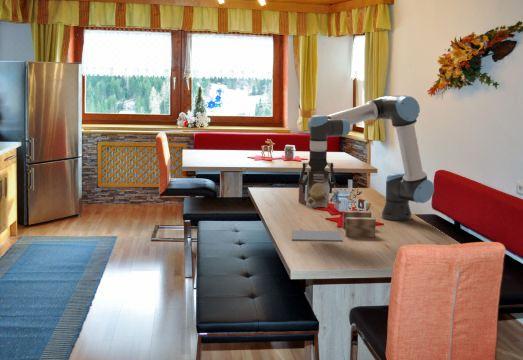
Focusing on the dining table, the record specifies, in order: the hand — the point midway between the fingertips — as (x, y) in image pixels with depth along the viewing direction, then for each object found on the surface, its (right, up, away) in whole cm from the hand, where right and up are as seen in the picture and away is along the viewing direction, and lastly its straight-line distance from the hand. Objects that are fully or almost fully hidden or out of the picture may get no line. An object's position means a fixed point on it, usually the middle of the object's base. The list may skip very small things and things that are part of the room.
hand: (317, 200), depth 299 cm
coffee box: (0, -3, 0) cm, 3 cm away
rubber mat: (0, -16, +2) cm, 16 cm away
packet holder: (+20, -15, +13) cm, 28 cm away
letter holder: (+5, -5, +81) cm, 81 cm away
